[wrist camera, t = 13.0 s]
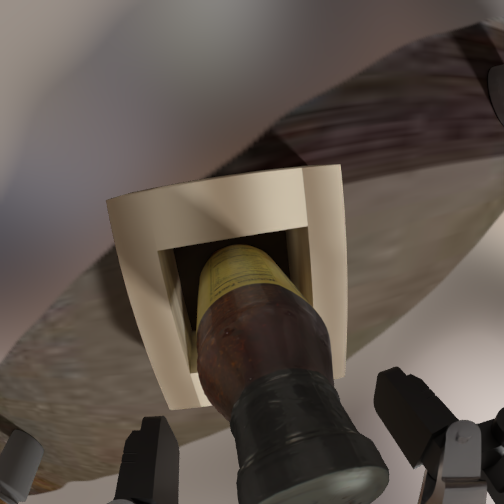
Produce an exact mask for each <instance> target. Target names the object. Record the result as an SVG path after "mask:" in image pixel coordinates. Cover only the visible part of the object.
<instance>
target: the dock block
mask: <svg viewBox="0 0 504 504" xmlns="http://www.w3.org/2000/svg"><path fill="white" fill-rule="evenodd" d="M106 203H107V208H108V213H109V218H110V223H111V228H112V233H113V237H114V242H115V246H116V251H117V255H118V259H119V263H120V267H121V271H122V274H123V278H124V282H125V285H126V289H127V292H128V296H129V299H130V303H131V306H132V309H133V312H134V316H135V319H136V322H137V325H138V328H139V331H140V334H141V337H142V340H143V343H144V345H145V348H146V351H147V354H148V357H149V359H150V362H151V365H152V367H153V370H154V372H155V375H156V377H157V380H158V382H159V385H160V387H161V390H162V392H163V395H164V397H165V399H166V402H167V404H168V406H169V408H170V410H176V409H187V408H196V407H204V406H212V404H211V403H210V402H209V400H208V399H207V397H206V395H205V394H204V391H203V389H202V386H201V384H200V380H199V376H198V371H197V358H198V353H197V348H196V331H192V328H191V324H190V320H189V316H188V312H187V308H186V304H185V300H184V295H183V291H182V287H181V282H180V278H179V273H178V269H177V264H176V259H175V255H174V250H173V248H177V247H182V246H188V245H194V244H200V243H206V242H212V241H218V240H224V239H230V238H236V237H243V236H249V235H255V234H261V233H267V232H274V231H280V230H285V232H286V242H287V252H288V262H289V272H290V281H291V282H292V283H293V284H294V285H295V286H296V288H297V289H298V290H299V291H300V293H301V294H302V295H303V296H304V297H305V298H306V299H307V300H308V302H309V303H310V304H311V305H312V307H313V308H314V309H315V310H316V311H317V313H318V314H319V315H320V317H321V318H322V320H323V322H324V323H325V325H326V327H327V330H328V333H329V337H330V343H331V353H332V365H333V378H334V380H335V379H338V378H341V377H345V364H346V343H347V250H346V228H345V212H344V198H343V186H342V176H341V166H340V165H310V166H299V167H289V168H280V169H271V170H263V171H255V172H247V173H240V174H233V175H226V176H219V177H213V178H206V179H200V180H194V181H189V182H183V183H177V184H173V185H167V186H161V187H156V188H151V189H147V190H142V191H137V192H132V193H128V194H125V195H122V196H118V197H115V198H111V199H108V200H106Z"/></svg>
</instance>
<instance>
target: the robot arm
mask: <svg viewBox="0 0 504 504" xmlns="http://www.w3.org/2000/svg"><path fill="white" fill-rule="evenodd" d="M488 88H489V93H490V97H491V101H492V104H493V107H494V109H495V112H496V114H497V116H498V118H499V120H500V121H501V123H502V124H503V126H504V65H499V66H494V67H492V68H491V69H490V71H489V74H488ZM374 407H375V410H376V412H377V414H378V416H379V417H380V419H381V420H382V422H383V423H384V425H385V426H386V428H387V429H388V431H389V432H390V434H391V435H392V437H393V438H394V439H395V441H396V443H397V444H398V446H399V447H400V449H401V451H402V452H403V454H404V455H405V457H406V458H407V460H408V461H409V463H410V464H411V466H412V467H413V469H415V468H417V467H419V466H421V465H424V466H425V468H426V470H425V472H424V477H423V482H422V486H421V491H420V495H419V499H418V503H417V504H486V495H487V491H488V493H489V494H490V496H491V498H492V499H493V501H494V502H495V504H504V408H502V409H501V410H500V411H499V412H498V414H497V416H496V418H495V419H492V420H489V421H486V422H483V423H480V424H475V423H474V422H472V421H469V420H458V419H457V418H456V417H455V416H454V414H452V412H451V411H450V410H449V409H448V408H447V407H446V406H445V404H444V403H443V402H442V401H441V400H440V399H439V398H438V397H437V396H435V393H433V391H432V390H431V389H429V387H428V386H427V385H426V384H425V383H424V382H423V380H422V379H420V378H418V377H415V376H414V375H412V374H410V375H407V376H406V374H405V373H404V372H403V371H402V370H401V369H400V368H399V367H393V368H391V369H388V370H385V371H382V372H380V373H379V374H378V376H377V382H376V389H375V394H374ZM123 452H124V454H123V456H122V463H121V466H120V471H119V476H118V482H117V487H116V493H115V497H114V499H113V501H111V502H109V503H107V504H178V485H179V446H178V442H177V440H176V438H175V436H174V434H173V432H172V430H171V428H170V426H169V424H168V422H167V420H166V418H165V417H164V416H154V417H144V418H143V420H142V425H141V430H139V431H132V433H131V434H130V435H129V437H128V438H127V440H126V442H125V446H124V451H123Z"/></svg>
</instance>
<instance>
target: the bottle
mask: <svg viewBox="0 0 504 504" xmlns="http://www.w3.org/2000/svg"><path fill="white" fill-rule="evenodd" d="M43 453H44V450H43V447H42V446H41V445H40V443H39V442H38V441H37V440H35V439H34V438H33V437H32V436H30V435H29V434H27V433H25V432H23V431H21V430H14V431H13V432H12V434H11V436H10V437H9V439H8V441H7V443H6V445H5V447H4V449H3V451H2V453H1V455H0V504H18V502H25V501H26V499H27V496H28V493H29V490H30V488H31V485H32V482H33V479H34V477H35V474H36V471H37V469H38V466H39V463H40V461H41V458H42V456H43Z"/></svg>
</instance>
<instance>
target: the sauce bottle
mask: <svg viewBox="0 0 504 504" xmlns="http://www.w3.org/2000/svg"><path fill="white" fill-rule="evenodd" d="M196 348H197V353H198V358H197V371H198V376H199V380H200V384H201V386H202V389H203V391H204V394H205V395H206V397H207V399H208V400H209V402H210V403H211V404H212V405H213V406H214V407H215V408H216V409H217V411H218V412H220V413H221V414H222V415H223V416H224V417H225V418H226V420H227V421H229V422H230V428H231V432H232V434H233V436H234V438H235V442H236V449H237V455H238V462H239V467H240V469H239V471H238V474H237V475H238V476H237V483H236V484H237V494H238V502H239V504H370V503H371V502H373V501H374V500H375V499H376V498H378V497H379V496H380V495H381V494H382V493H383V491H384V490H385V488H386V486H387V485H388V482H389V469H388V468H387V466H386V464H385V463H384V461H383V459H382V457H381V455H380V453H379V451H378V450H377V448H376V446H375V445H374V443H373V442H372V441H371V440H370V439H369V438H367V437H365V436H364V435H362V434H360V433H359V432H358V431H357V429H356V428H355V426H354V424H353V423H352V421H351V419H350V418H349V416H348V414H347V413H346V411H345V410H344V408H343V406H342V405H341V403H340V398H339V395H338V393H337V391H336V389H335V388H334V378H333V365H332V353H331V343H330V337H329V333H328V330H327V327H326V325H325V323H324V322H323V320H322V318H321V317H320V315H319V314H318V313H317V311H316V310H315V309H314V308H313V307H312V305H311V304H310V303H309V302H308V300H307V299H306V298H305V297H304V296H303V295H302V294H301V293H300V291H299V290H298V289H297V288H296V286H295V285H294V284H293V283H292V282H291V281H290V280H289V278H288V277H287V276H286V275H285V274H284V272H283V271H282V270H281V269H280V268H279V266H278V265H277V264H276V263H275V262H274V261H273V260H272V258H271V257H270V256H269V255H268V254H266V253H265V252H264V251H262V250H260V249H258V248H255V247H252V246H250V245H247V244H233V245H229V246H226V247H224V248H222V249H219V250H217V251H215V252H214V253H213V254H212V255H211V257H210V258H209V259H208V261H207V262H206V264H205V266H204V268H203V270H202V272H201V275H200V284H199V292H198V308H197V329H196Z"/></svg>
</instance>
